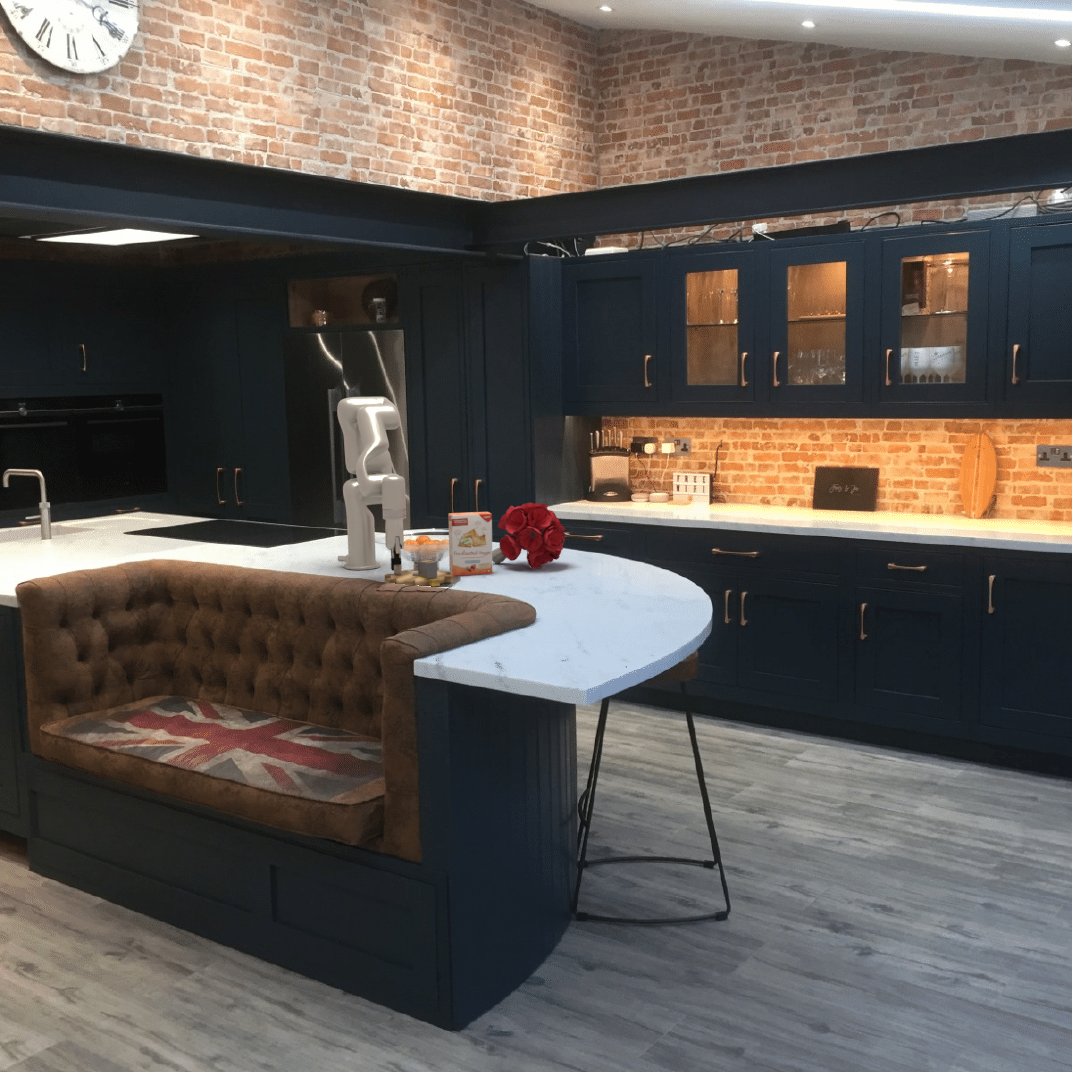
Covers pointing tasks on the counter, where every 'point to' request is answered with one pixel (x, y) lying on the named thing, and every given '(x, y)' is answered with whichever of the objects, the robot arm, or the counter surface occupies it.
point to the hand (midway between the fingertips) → (396, 569)
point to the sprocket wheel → (417, 578)
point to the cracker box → (470, 543)
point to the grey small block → (427, 569)
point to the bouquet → (530, 535)
